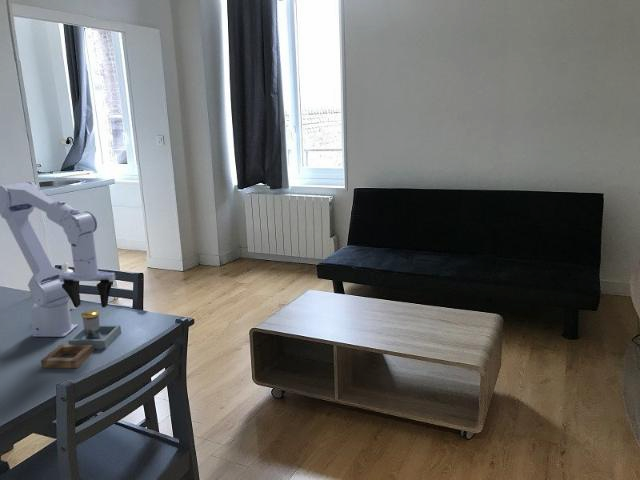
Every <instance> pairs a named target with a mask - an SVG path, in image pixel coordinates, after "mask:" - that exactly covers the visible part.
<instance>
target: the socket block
mask: <svg viewBox="0 0 640 480" xmlns="http://www.w3.org/2000/svg"><path fill="white" fill-rule="evenodd" d="M94 352H95V349H94V348H93V345H69V344H62V343H61V344H58V346H56V347H55V348H54V349H53V350H52V351H51V352H49V353H48V354H47V355H46V356H45V357H43V358H42V359H41V360H40V364H41V368H43V369H78V368H80V366H81V365H82V364H83V363H85V361H86V360H87V359H89V358H90V356H91V355H92V354H93V353H94ZM63 355H75V356H74V357H63Z"/></svg>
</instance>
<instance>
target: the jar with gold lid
mask: <svg viewBox="0 0 640 480" xmlns="http://www.w3.org/2000/svg"><path fill="white" fill-rule="evenodd" d="M100 314H101V313H100V310H97V309H89V310H86V311H83V312H82V313H81V314H80V317H81V318H82V321H83V322H82V324H83V327H84V331H85V339H101V330H100V325H101V323H100Z"/></svg>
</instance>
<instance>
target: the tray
mask: <svg viewBox="0 0 640 480" xmlns="http://www.w3.org/2000/svg"><path fill="white" fill-rule="evenodd" d="M121 328H122V327H121V325H120V324H119V325H118V324H117V325H116V324H115V325H111V324H109V325H106V324H100V330H101V339H85V331H84V326H83V327H81V329H79V331H77V332H76V333H75V334H73V336H71V337H70V338H69V339H68V340H67V341H68V342H67V343H68V345H93V348H94V350H107V349H108V348H109V347H110V345H112V344H113V342H115V340H116V339H118V337H119V336H120V335H121V334H122V329H121Z"/></svg>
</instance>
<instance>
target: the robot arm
mask: <svg viewBox="0 0 640 480" xmlns="http://www.w3.org/2000/svg"><path fill="white" fill-rule="evenodd" d="M35 208H36V209H38V210H41V212H44V213H46V217H47V218H48V220H50V221H51V222H53V223H54V224H56V225H58V226H60V227H62V229H63V232H64V233H65V235H66V237H67V241H68V243H69V244H70V249H71V255H72V263H73V264H72V265H73V269H74V270H73V272H70V273H64V271H63V270H62V269H59V268H57V267H54V266H53V265H52V263H51V261H50V259H49V257H48V255H47V253H46V251H45V249H44V247H43V246H42V243H41V241H40V239H39V237H38V235H37V234H36V232H35V229H34V228H33V225H32V223H31V221H30V220H29V215H30V214H31V213H33V212H34V209H35ZM0 217H1V218H3V219H4V220H5V222H6V223H7V226H8V228H9V230H10V231H11V233H12V235H13V238H14V240H15V241H16V243H17V245H18V247H19V249H20V251H21V253H22V255H23V257H24V259H25V261H26V264H27V265H28V267H29V269H30V271H31V273H32V274H33V275H32V276H31V278H30V279H29V281H28V284H27V287H28V289H29V291H30V297H31V299H32V301H33V303H34V304H33V305H32V307H31V311H30V317H31V323H32V329H33V334H32V337H36V338H37V337H38V338H39V337H42V338H43V337H44V338H45V337H46V338H47V337H50V338H51V337H52V338H53V337H54V338H55V337H58V338H60V337H61V338H65V337H66V336H67V335H68V334H70V333H71V332H72V331H74V330H75V329H76V328H77V327H78V326H79V324H77V323H72V319H71V313H70V311H71V310H69V304H68V300H70V298H71V300H72V302H73V305H74V307H76V308H78V307H79V306H81V295H80V282H98V283H97V284H96V288H97V291H98V293H99V297H100V304H101V305H100V306H101V308H106V307H107V306H108V305H109V302H108V301H109V297H110V291H111V289H112V286H113V284H114V281H115V280H116V273H115V272H108V271H101V270H99V268H98V259H97V252H96V244H95V235H94V233H95V232H96V231H97V228H98V222H97V218H96V216H95V215H94V214H93V213H91V212H90V211H88V210H87V211H79V210H78V209H77V208H75V207H73V206H71V205H69V204H67V203H66V201H65V200H55V201H54V200H53V199H51V197H48V196H47V195H46V194H44V193H43V192H42V191H40V188H39V186H38V184H35V183H34V182H32V181H29V180H28V181H24V182H19V183H17V182H16V183H11V184H4V185H0Z"/></svg>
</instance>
